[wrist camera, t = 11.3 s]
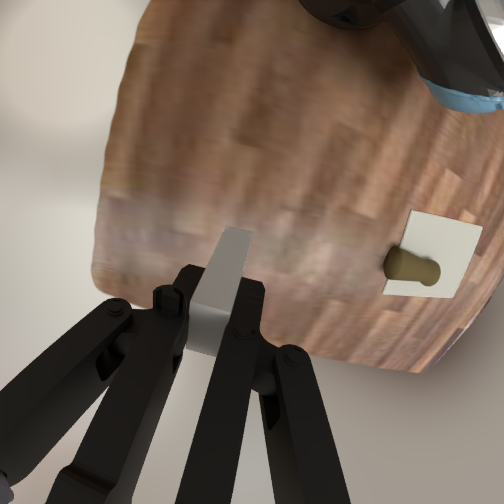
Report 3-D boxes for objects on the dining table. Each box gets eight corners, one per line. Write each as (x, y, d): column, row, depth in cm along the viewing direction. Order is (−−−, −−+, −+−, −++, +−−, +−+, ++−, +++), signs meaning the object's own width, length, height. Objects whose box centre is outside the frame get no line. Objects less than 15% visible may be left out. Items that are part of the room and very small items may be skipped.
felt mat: (381, 292, 53) (382, 294, 53) (410, 209, 45) (411, 210, 44) (451, 297, 54) (452, 298, 53) (482, 226, 45) (483, 227, 45)
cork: (406, 253, 43) (449, 266, 44) (391, 241, 48) (433, 254, 49) (393, 285, 45) (436, 295, 46) (380, 271, 50) (422, 281, 51)
